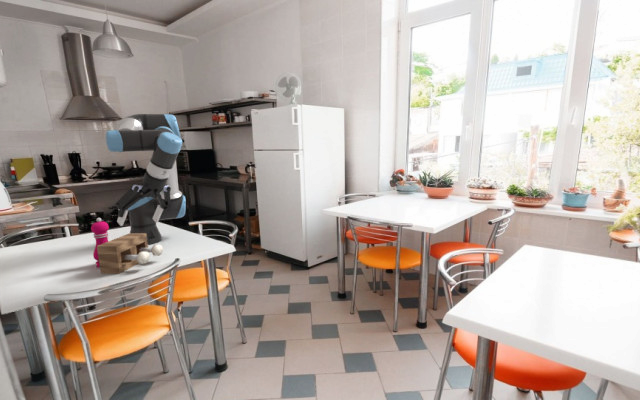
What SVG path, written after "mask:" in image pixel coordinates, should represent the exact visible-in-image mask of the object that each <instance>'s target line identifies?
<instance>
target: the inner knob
mask: <svg viewBox="0 0 640 400" xmlns="http://www.w3.org/2000/svg"><path fill="white" fill-rule="evenodd" d="M163 249H164V248H163V245H162V244H154V245H152V247H148V248H140V252H149V253H151V254H152V256H153V257H154V256H155V257H157V256H161V255H162V254H163V251H164V250H163Z"/></svg>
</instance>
